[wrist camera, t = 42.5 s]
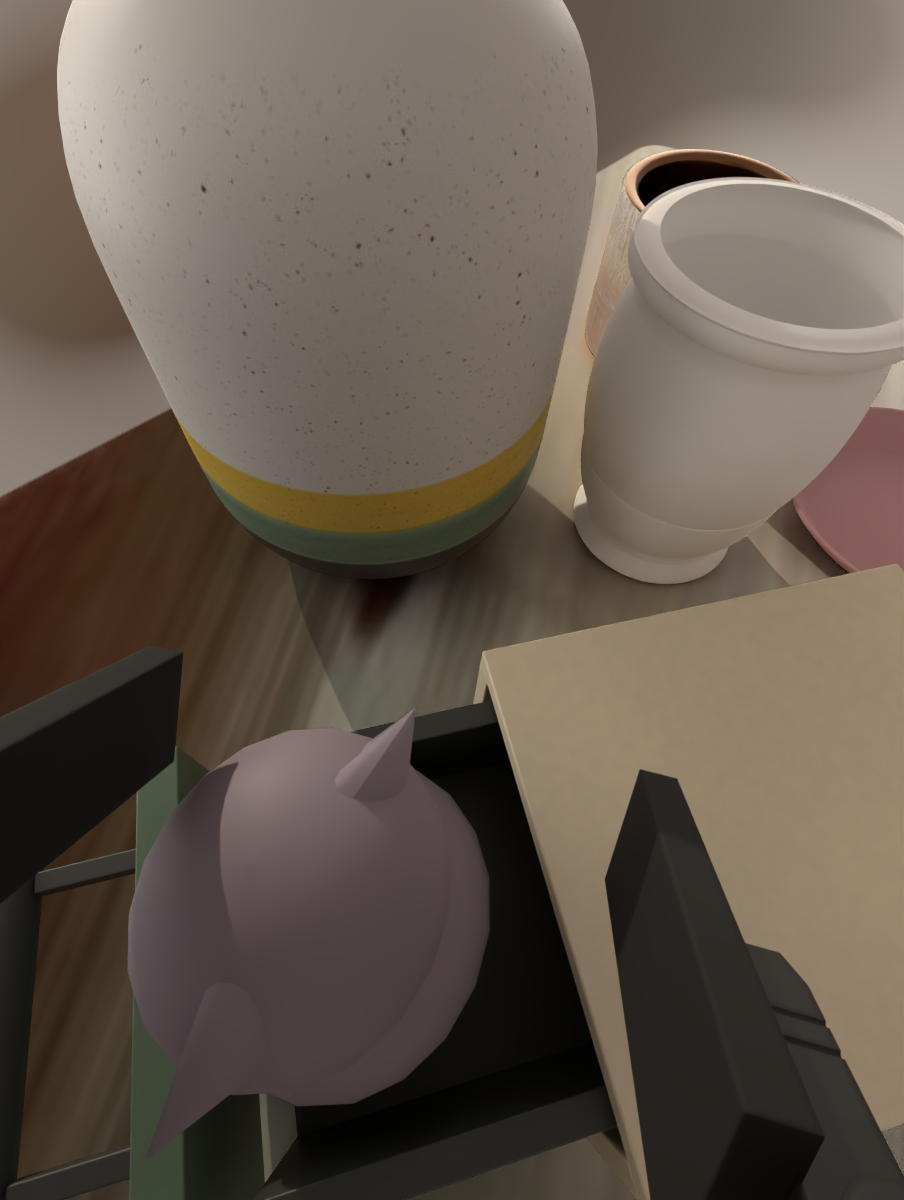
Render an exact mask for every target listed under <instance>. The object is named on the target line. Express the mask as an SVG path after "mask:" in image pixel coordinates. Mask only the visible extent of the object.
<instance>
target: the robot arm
mask: <svg viewBox="0 0 904 1200" xmlns="http://www.w3.org/2000/svg"><path fill="white" fill-rule="evenodd" d="M182 660H183V653H182V652H178V651H174V650H170V649H166V648H162V647H158V646H154V645H150V646H148V647H146V648H144V649H142V650H140V651H138V652H135V653H133V654H131V655H129V656H127V657H125V658H123V659H121V660H119V661H117V662H114V663H112V664H110V665H108V666H106V667H104V668H102V669H100V670H98V671H96V672H94V673H91V674H89V675H87V676H85V677H83V678H81V679H79V680H77V681H75V682H73V683H70V684H68V685H66V686H64V687H62V688H60V689H58V690H56V691H54V692H52V693H50V694H47V695H45V696H43V697H41V698H39V699H37V700H35V701H33V702H31V703H29V704H27V705H24V706H22V707H20V708H18V709H16V710H14V711H12V712H10V713H8V714H6V715H3V716H1V717H0V904H1V903H2V902H3V901H4V900H6V899H7V898H8V897H9V896H11V895H12V894H13V893H14V892H15V891H17V890H18V889H19V888H20V887H22V886H23V885H24V884H25V883H26V882H28V881H29V880H30V879H31V878H33V877H34V876H35V875H36V874H37V873H39V872H40V871H41V870H42V869H43V868H45V867H46V866H47V865H48V864H50V863H51V862H52V861H53V860H54V859H56V858H57V857H58V856H59V855H61V854H62V853H63V852H64V851H65V850H67V849H68V848H69V847H70V846H71V845H73V844H74V843H75V842H76V841H78V840H79V839H80V838H81V837H82V836H84V835H85V834H86V833H87V832H89V831H90V830H91V829H92V828H93V827H95V826H96V825H97V824H98V823H100V822H101V821H102V820H103V819H104V818H106V817H107V816H108V815H109V814H110V813H112V812H113V811H114V810H115V809H117V808H118V807H119V806H120V805H121V804H123V803H124V802H125V801H126V800H128V799H129V798H130V797H131V796H132V795H134V794H135V793H136V792H137V791H138V790H140V789H141V788H142V787H143V786H145V785H146V784H147V783H148V782H149V781H151V780H152V779H153V778H154V777H156V776H157V775H158V774H159V773H160V772H162V771H163V770H164V769H165V768H167V767H168V766H169V765H170V764H171V763H173V762H174V756H175V744H176V732H177V720H178V708H179V696H180V684H181V672H182ZM605 885H606V892H607V899H608V906H609V913H610V920H611V927H612V934H613V941H614V948H615V955H616V962H617V969H618V976H619V983H620V990H621V997H622V1004H623V1011H624V1018H625V1025H626V1032H627V1039H628V1046H629V1053H630V1061H631V1068H632V1075H633V1082H634V1089H635V1096H636V1103H637V1110H638V1117H639V1124H640V1131H641V1138H642V1145H643V1152H644V1159H645V1166H646V1173H647V1180H648V1187H649V1194H650V1200H904V1176H903V1174H902V1172H901V1170H900V1168H899V1166H898V1164H897V1162H896V1160H895V1158H894V1156H893V1154H892V1152H891V1150H890V1148H889V1146H888V1144H887V1142H886V1140H885V1138H884V1136H883V1134H882V1132H881V1130H880V1128H879V1126H878V1124H877V1122H876V1120H875V1118H874V1116H873V1114H872V1112H871V1110H870V1108H869V1106H868V1104H867V1102H866V1100H865V1098H864V1096H863V1094H862V1092H861V1090H860V1088H859V1086H858V1084H857V1082H856V1080H855V1078H854V1076H853V1074H852V1072H851V1070H850V1068H849V1066H848V1064H847V1062H846V1060H845V1059H842V1058H841V1050H840V1048H839V1046H838V1044H837V1042H836V1040H835V1038H834V1036H833V1034H832V1032H831V1030H830V1028H827V1027H826V1020H825V1018H824V1016H823V1014H822V1012H821V1010H820V1008H819V1006H818V1004H817V1002H816V1000H815V998H814V996H813V994H812V992H811V990H810V988H809V986H808V985H807V984H806V982H805V981H804V980H803V979H802V978H801V977H800V975H799V974H798V973H797V972H796V971H795V970H794V968H793V967H792V966H791V965H790V964H789V963H788V962H787V960H786V959H785V958H784V957H783V956H782V955H781V953H779V952H776V951H772V950H769V949H765V948H761V947H758V946H754V945H751V944H747V943H745V941H744V939H743V937H742V934H741V932H740V929H739V927H738V925H737V922H736V920H735V917H734V915H733V912H732V910H731V908H730V905H729V903H728V900H727V898H726V895H725V893H724V891H723V888H722V886H721V883H720V881H719V879H718V876H717V874H716V871H715V869H714V866H713V864H712V862H711V859H710V857H709V854H708V852H707V849H706V847H705V845H704V842H703V840H702V837H701V835H700V833H699V830H698V828H697V825H696V823H695V820H694V818H693V816H692V813H691V811H690V808H689V806H688V804H687V801H686V799H685V796H684V794H683V791H682V789H681V787H680V784H679V782H678V779H677V778H673V777H669V776H665V775H661V774H657V773H653V772H650V771H646V770H642V769H640V770H639V773H638V776H637V779H636V782H635V786H634V789H633V792H632V795H631V798H630V801H629V804H628V808H627V811H626V814H625V817H624V820H623V823H622V826H621V830H620V833H619V836H618V839H617V842H616V845H615V848H614V852H613V855H612V858H611V861H610V864H609V867H608V870H607V873H606V877H605Z"/></svg>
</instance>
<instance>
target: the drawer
mask: <svg viewBox="0 0 904 1200" xmlns="http://www.w3.org/2000/svg"><path fill="white" fill-rule="evenodd" d="M394 723H395V722H393V723H389V724H384V725H380V726H375V727H371V728H366V729H362V730H357V731H353V732H351V733H355V734H358V735H362V736H366V737H370V738H373V739H374V738H375V737H376V736H378V735H379V734H380V733H382V732H383V731H384V730H386V729H387V728H388V727H390V726H391V725H392V724H394ZM410 764H411V766H412V767H413V768H414V770H416V771H418V772H420V773H421V774H423V775H424V776H425V777H427V778H428V779H429V780H431V781H432V782H434V783H435V784H436V785H438V786H439V787H440V788H442V789H443V790H445V791H446V792H447V793H449V794H450V795H451V797H452V798H453V800H454V801H455V802H456V804H457V805H458V807H459V808H460V810H461V811H462V813H463V814H464V816H465V817H466V819H467V820H468V821H469V823H470V824H471V826H472V827H473V829H474V830H475V832H476V835H477V838H478V841H479V845H480V848H481V851H482V855H483V858H484V861H485V865H486V868H487V871H488V875H489V896H490V932H489V936H488V940H487V943H486V947H485V951H484V955H483V959H482V963H481V967H480V971H479V975H478V978H477V982H476V986H475V988H474V990H473V992H472V993H471V995H470V997H469V999H468V1000H467V1002H466V1004H465V1006H464V1008H463V1009H462V1011H461V1013H460V1015H459V1016H458V1018H457V1020H456V1022H455V1024H454V1025H453V1027H452V1029H451V1031H450V1032H449V1034H448V1036H447V1038H446V1039H445V1040H444V1041H443V1042H442V1043H441V1044H440V1045H439V1046H438V1047H437V1048H436V1049H435V1050H434V1051H433V1052H432V1053H431V1054H430V1055H429V1056H428V1057H427V1058H426V1059H425V1060H424V1061H423V1062H422V1063H421V1064H419V1065H418V1066H417V1067H416V1068H415V1069H414V1070H413V1071H412V1072H411V1073H410V1074H409V1075H408V1076H407V1077H406V1078H405V1079H404V1080H402V1081H400V1082H398V1083H396V1084H394V1085H392V1086H390V1087H388V1088H386V1089H384V1090H381V1091H379V1092H377V1093H375V1094H373V1095H371V1096H369V1097H367V1098H365V1099H363V1100H360V1101H358V1102H356V1103H354V1104H337V1105H315V1106H295V1112H296V1124H297V1135H298V1137H297V1138H296V1140H295V1141H294V1143H293V1144H292V1145H291V1147H290V1148H289V1150H288V1151H287V1153H286V1154H285V1155H284V1157H283V1158H282V1160H281V1161H280V1163H279V1164H278V1165H277V1167H276V1168H275V1170H274V1171H273V1173H272V1174H271V1176H270V1177H269V1178H268V1180H267V1181H266V1183H265V1181H264V1165H263V1150H262V1134H261V1119H260V1104H259V1094H246V1095H231V1094H230V1095H229V1096H227V1097H226V1098H225V1099H224V1100H222V1101H221V1102H220V1103H219V1104H217V1105H216V1106H215V1107H213V1108H212V1109H211V1110H210V1111H208V1112H207V1113H206V1114H205V1115H203V1116H202V1117H201V1118H199V1119H198V1120H197V1121H196V1122H194V1123H193V1124H192V1125H191V1126H189V1127H188V1128H187V1129H185V1130H184V1131H183V1132H182V1133H180V1134H179V1135H178V1136H176V1137H175V1138H174V1139H173V1140H171V1141H170V1142H169V1143H168V1144H166V1145H165V1146H164V1147H162V1148H161V1149H160V1150H159V1151H157V1152H156V1153H155V1154H154V1155H152V1156H151V1157H150V1158H148V1159H147V1160H146V1161H145V1159H146V1156H147V1153H148V1150H149V1148H150V1145H151V1142H152V1139H153V1136H154V1133H155V1131H156V1128H157V1125H158V1122H159V1119H160V1117H161V1114H162V1111H163V1108H164V1105H165V1103H166V1100H167V1097H168V1094H169V1091H170V1088H171V1086H172V1083H173V1080H174V1077H175V1074H176V1072H177V1069H178V1068H177V1067H176V1066H175V1064H174V1063H173V1062H172V1061H171V1060H170V1058H169V1057H168V1056H167V1055H166V1054H165V1052H164V1051H163V1050H162V1049H161V1048H160V1046H159V1045H158V1044H157V1043H156V1041H155V1040H154V1039H153V1038H152V1037H151V1035H150V1034H149V1033H148V1032H147V1031H146V1029H145V1028H144V1025H143V1021H142V1018H141V1015H140V1011H139V1008H138V1005H137V1002H136V998H135V995H134V992H133V1028H132V1081H131V1134H130V1144H128V1145H125V1146H121V1147H118V1148H115V1149H112V1150H108V1151H105V1152H102V1153H99V1154H96V1155H92V1156H89V1157H86V1158H83V1159H80V1160H76V1161H73V1162H70V1163H67V1164H63V1165H60V1166H57V1167H54V1168H51V1169H47V1170H44V1171H41V1172H38V1173H34V1174H31V1175H28V1176H25V1177H22V1178H19V1179H18V1180H17V1172H18V1161H19V1150H20V1138H21V1127H22V1116H23V1105H24V1094H25V1082H26V1071H27V1060H28V1049H29V1037H30V1026H31V1015H32V1004H33V993H34V981H35V970H36V959H37V948H38V936H39V925H40V914H41V903H42V895H49V894H53V893H57V892H61V891H65V890H69V889H73V888H77V887H81V886H85V885H89V884H93V883H97V882H102V881H106V880H110V879H114V878H118V877H122V876H126V875H130V874H134V873H135V891H136V888H137V884H138V881H139V877H140V874H141V870H142V867H143V864H144V860H145V859H146V857H147V855H148V853H149V851H150V850H151V848H152V846H153V844H154V843H155V841H156V839H157V837H158V835H159V834H160V832H161V830H162V828H163V827H164V825H165V823H166V821H167V819H168V818H169V816H170V814H171V813H172V812H173V810H174V809H175V808H176V807H177V806H178V805H179V804H180V803H181V801H182V800H183V799H184V798H185V797H186V796H187V795H188V794H189V793H190V791H191V790H192V789H193V788H194V787H195V786H196V785H197V784H198V782H199V781H200V780H201V779H202V778H203V777H204V776H205V775H206V774H207V773H209V772H210V771H208V770H207V769H206V768H205V767H203V766H202V765H201V764H199V763H198V762H197V761H196V760H194V759H193V758H192V757H191V756H189V755H188V754H187V753H186V752H184V751H183V750H182V749H180V748H179V747H178V746H176V747H175V756H174V762H173V763H171V764H170V765H169V766H168V767H167V768H165V769H164V770H163V771H162V772H160V773H159V774H158V775H157V776H156V777H154V778H153V779H152V780H151V781H149V782H148V783H147V784H146V785H145V786H143V787H142V788H141V789H140V790H138V791H137V816H136V849H132V850H128V851H124V852H120V853H116V854H111V855H107V856H103V857H99V858H95V859H91V860H87V861H82V862H78V863H74V864H70V865H66V866H62V867H58V868H53V869H49V870H45V871H44V870H43V869H42V870H41V871H40V872H39V873H37V874H36V875H35V876H34V877H33V878H31V879H30V880H29V881H28V882H26V883H25V884H24V885H23V886H22V887H20V888H19V889H18V890H17V891H15V892H14V893H13V894H12V895H11V896H9V897H8V898H7V899H6V900H4V901H3V902H2V903H1V904H0V1200H64V1199H67V1198H71V1197H74V1196H77V1195H80V1194H83V1193H86V1192H89V1191H92V1190H96V1189H99V1188H102V1187H105V1186H108V1185H111V1184H114V1183H118V1182H121V1181H124V1180H127V1179H130V1187H129V1200H407V1199H409V1198H412V1197H415V1196H418V1195H421V1194H424V1193H427V1192H430V1191H433V1190H435V1189H438V1188H441V1187H444V1186H447V1185H450V1184H453V1183H456V1182H458V1181H461V1180H464V1179H467V1178H470V1177H473V1176H476V1175H479V1174H482V1173H484V1172H487V1171H490V1170H493V1169H496V1168H499V1167H502V1166H505V1165H508V1164H510V1163H513V1162H516V1161H519V1160H522V1159H525V1158H528V1157H531V1156H533V1155H536V1154H539V1153H542V1152H545V1151H548V1150H551V1149H554V1148H557V1147H559V1146H562V1145H565V1144H568V1143H571V1142H574V1141H577V1140H580V1139H582V1138H585V1137H588V1136H591V1135H594V1134H597V1133H600V1132H603V1131H606V1130H608V1129H611V1128H614V1127H617V1122H616V1119H615V1116H614V1112H613V1109H612V1105H611V1102H610V1099H609V1095H608V1092H607V1088H606V1085H605V1082H604V1078H603V1075H602V1071H601V1068H600V1065H599V1061H598V1058H597V1054H596V1051H595V1048H594V1044H593V1041H592V1037H591V1034H590V1031H589V1027H588V1024H587V1020H586V1017H585V1014H584V1010H583V1007H582V1003H581V1000H580V997H579V993H578V990H577V987H576V983H575V980H574V976H573V973H572V970H571V966H570V963H569V959H568V956H567V953H566V949H565V946H564V942H563V939H562V936H561V932H560V929H559V925H558V922H557V919H556V915H555V912H554V908H553V905H552V902H551V898H550V895H549V891H548V888H547V885H546V881H545V878H544V875H543V871H542V868H541V864H540V861H539V858H538V854H537V851H536V847H535V844H534V841H533V837H532V834H531V830H530V827H529V824H528V820H527V817H526V813H525V810H524V807H523V803H522V800H521V796H520V793H519V790H518V786H517V783H516V779H515V776H514V773H513V769H512V766H511V763H510V759H509V756H508V752H507V749H506V746H505V742H504V739H503V735H502V732H501V729H500V725H499V722H498V718H497V715H496V712H495V708H494V705H493V701H492V700H491V701H486V702H482V703H477V704H473V705H468V706H464V707H460V708H455V709H451V710H446V711H442V712H437V713H433V714H428V715H424V716H420V717H415V721H414V730H413V739H412V748H411V757H410Z"/></svg>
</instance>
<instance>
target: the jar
mask: <svg viewBox="0 0 904 1200" xmlns="http://www.w3.org/2000/svg"><path fill="white" fill-rule="evenodd" d="M628 264H629V269H630V272H631V276H632V277H631V279H630V280H629V282H628V283H627V285H626V287H625V289H624V290H623V292H622V294H621V296H620V298H619V300H618V302H617V304H616V306H615V308H614V310H613V312H612V315H611V317H610V319H609V322H608V324H607V326H606V329H605V331H604V334H603V337H602V339H601V342H600V345H599V348H598V351H597V354H596V357H595V360H594V364H593V368H592V372H591V376H590V380H589V385H588V391H587V397H586V405H585V417H584V435H583V441H582V450H581V475H582V482H583V484H582V485H581V487H580V489H579V490H578V493H577V495H576V498H575V502H574V521H575V525H576V528H577V531H578V533H579V535H580V537H581V539H582V540H583V542H584V543H585V545H586V546H587V547H588V549H589V550H590V551H591V552H592V553H593V554H594V555H595V556H596V557H597V558H598V559H599V560H601V561H602V562H603V563H604V564H606V565H607V566H609V567H610V568H612V569H614V570H615V571H617V572H619V573H621V574H623V575H626V576H628V577H631V578H633V579H637V580H640V581H644V582H649V583H657V584H676V583H684V582H688V581H692V580H695V579H697V578H700V577H702V576H704V575H706V574H707V573H709V572H710V571H712V570H713V569H714V568H715V567H716V566H717V565H718V564H719V563H720V562H721V561H722V559H723V558H724V556H725V555H726V553H727V550H728V548H729V546H731V545H733V544H734V543H736V542H738V541H740V540H741V539H743V538H745V537H746V536H747V535H749V534H750V533H752V532H753V531H754V530H756V529H757V528H758V527H759V526H761V525H762V524H763V523H764V522H765V521H766V520H768V519H769V518H770V517H771V516H772V515H773V514H774V513H775V512H776V511H777V510H778V509H779V508H780V507H782V506H783V505H785V504H786V503H787V502H789V501H790V500H791V499H792V498H794V497H795V496H796V495H797V494H798V493H800V492H801V491H802V490H803V489H804V488H805V487H806V486H807V485H809V484H810V483H811V482H812V481H813V480H814V479H815V478H816V477H817V476H818V475H819V474H820V473H821V472H822V471H823V470H824V469H825V467H826V466H827V465H828V464H829V463H830V462H831V461H832V460H833V458H834V457H835V456H836V455H837V454H838V453H839V451H840V450H841V449H842V448H843V446H844V445H845V444H846V442H847V441H848V440H849V438H850V437H851V436H852V434H853V433H854V431H855V430H856V428H857V427H858V425H859V424H860V422H861V421H862V419H863V418H864V416H865V415H866V413H867V412H868V410H869V408H870V407H871V405H872V403H873V402H874V400H875V398H876V396H877V395H878V393H879V391H880V389H881V387H882V385H883V383H884V381H885V379H886V377H887V375H888V372H889V370H890V368H891V365H893V364H895V363H897V362H900V361H902V360H904V224H902V223H900V222H899V221H897V220H896V219H894V218H892V217H891V216H888V215H887V214H885V213H883V212H881V211H879V210H877V209H875V208H873V207H871V206H869V205H867V204H864V203H862V202H860V201H857V200H855V199H852V198H849V197H847V196H844V195H841V194H838V193H835V192H832V191H828V190H824V189H821V188H818V187H813V186H809V185H805V184H800V183H795V182H790V181H783V180H776V179H767V178H753V177H727V178H715V179H707V180H701V181H696V182H692V183H688V184H684V185H681V186H678V187H675V188H673V189H671V190H668V191H666V192H664V193H663V194H661V195H659V196H658V197H656V198H655V199H653V200H652V201H651V202H650V203H649V204H648V205H647V206H646V207H645V208H644V209H643V211H642V212H641V214H640V215H639V217H638V220H637V222H636V225H635V227H634V229H633V232H632V234H631V237H630V241H629V247H628Z"/></svg>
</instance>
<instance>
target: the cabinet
mask: <svg viewBox="0 0 904 1200" xmlns="http://www.w3.org/2000/svg"><path fill="white" fill-rule="evenodd" d="M491 700H492V701H493V705H494V708H495V712H496V715H497V718H498V722H499V725H500V729H501V732H502V735H503V739H504V742H505V746H506V749H507V752H508V756H509V759H510V763H511V766H512V769H513V773H514V776H515V779H516V783H517V786H518V790H519V793H520V796H521V800H522V803H523V807H524V810H525V813H526V817H527V820H528V824H529V827H530V830H531V834H532V837H533V841H534V844H535V847H536V851H537V854H538V858H539V861H540V864H541V868H542V871H543V875H544V878H545V881H546V885H547V888H548V891H549V895H550V898H551V902H552V905H553V908H554V912H555V915H556V919H557V922H558V925H559V929H560V932H561V936H562V939H563V942H564V946H565V949H566V953H567V956H568V959H569V963H570V966H571V970H572V973H573V976H574V980H575V983H576V987H577V990H578V993H579V997H580V1000H581V1003H582V1007H583V1010H584V1014H585V1017H586V1020H587V1024H588V1027H589V1031H590V1034H591V1037H592V1041H593V1044H594V1048H595V1051H596V1054H597V1058H598V1061H599V1065H600V1068H601V1071H602V1075H603V1078H604V1082H605V1085H606V1088H607V1092H608V1095H609V1099H610V1102H611V1105H612V1109H613V1112H614V1116H615V1119H616V1122H617V1127H614V1128H611V1129H608V1130H606V1131H603V1132H600V1133H597V1134H594V1135H591V1136H588V1137H586V1138H587V1139H588V1140H589V1141H590V1143H591V1144H592V1145H593V1146H594V1147H595V1149H596V1150H597V1151H598V1152H599V1154H600V1155H601V1156H602V1157H603V1159H604V1160H605V1161H606V1162H607V1163H608V1165H609V1166H610V1167H611V1168H612V1170H613V1171H614V1172H615V1173H616V1174H617V1176H618V1177H619V1178H620V1179H621V1181H622V1182H623V1183H624V1184H625V1186H626V1187H627V1188H628V1189H629V1190H630V1192H631V1193H632V1194H633V1195H634V1197H635V1198H636V1199H637V1200H650V1194H649V1187H648V1180H647V1173H646V1166H645V1159H644V1152H643V1145H642V1138H641V1131H640V1124H639V1117H638V1110H637V1103H636V1096H635V1089H634V1082H633V1075H632V1068H631V1061H630V1053H629V1046H628V1039H627V1032H626V1025H625V1018H624V1011H623V1004H622V997H621V990H620V983H619V976H618V969H617V962H616V955H615V948H614V941H613V934H612V927H611V920H610V913H609V906H608V899H607V892H606V885H605V877H606V873H607V870H608V867H609V864H610V861H611V858H612V855H613V852H614V848H615V845H616V842H617V839H618V836H619V833H620V830H621V826H622V823H623V820H624V817H625V814H626V811H627V808H628V804H629V801H630V798H631V795H632V792H633V789H634V786H635V782H636V779H637V776H638V773H639V770H640V769H642V770H646V771H650V772H653V773H657V774H661V775H665V776H669V777H673V778H677V779H678V782H679V784H680V787H681V789H682V791H683V794H684V796H685V799H686V801H687V804H688V806H689V808H690V811H691V813H692V816H693V818H694V820H695V823H696V825H697V828H698V830H699V833H700V835H701V837H702V840H703V842H704V845H705V847H706V849H707V852H708V854H709V857H710V859H711V862H712V864H713V866H714V869H715V871H716V874H717V876H718V879H719V881H720V883H721V886H722V888H723V891H724V893H725V895H726V898H727V900H728V903H729V905H730V908H731V910H732V912H733V915H734V917H735V920H736V922H737V925H738V927H739V929H740V932H741V934H742V937H743V939H744V941H745V943H747V944H751V945H754V946H758V947H761V948H765V949H769V950H772V951H776V952H779V953H781V955H782V956H783V957H784V958H785V959H786V960H787V962H788V963H789V964H790V965H791V966H792V967H793V968H794V970H795V971H796V972H797V973H798V974H799V975H800V977H801V978H802V979H803V980H804V981H805V982H806V984H807V985H808V986H809V988H810V990H811V992H812V994H813V996H814V998H815V1000H816V1002H817V1004H818V1006H819V1008H820V1010H821V1012H822V1014H823V1016H824V1018H825V1020H826V1027H827V1028H830V1030H831V1032H832V1034H833V1036H834V1038H835V1040H836V1042H837V1044H838V1046H839V1048H840V1050H841V1058H842V1059H845V1060H846V1062H847V1064H848V1066H849V1068H850V1070H851V1072H852V1074H853V1076H854V1078H855V1080H856V1082H857V1084H858V1086H859V1088H860V1090H861V1092H862V1094H863V1096H864V1098H865V1100H866V1102H867V1104H868V1106H869V1108H870V1110H871V1112H872V1114H873V1116H874V1118H875V1120H876V1122H877V1124H878V1126H879V1128H880V1130H881V1132H883V1131H886V1130H889V1129H891V1128H894V1127H897V1126H899V1125H902V1124H904V572H903V570H902V569H901V568H900V566H899V565H898V564H892V565H888V566H883V567H878V568H873V569H869V570H864V571H859V572H854V573H850V574H845V575H840V576H836V577H831V578H826V579H821V580H817V581H812V582H807V583H803V584H798V585H793V586H788V587H784V588H779V589H774V590H770V591H765V592H760V593H755V594H751V595H746V596H741V597H736V598H732V599H727V600H722V601H718V602H713V603H708V604H703V605H699V606H694V607H689V608H685V609H680V610H675V611H670V612H666V613H661V614H656V615H652V616H647V617H642V618H637V619H633V620H628V621H623V622H618V623H614V624H609V625H604V626H600V627H595V628H590V629H585V630H581V631H576V632H571V633H567V634H562V635H557V636H552V637H548V638H543V639H538V640H534V641H529V642H524V643H519V644H515V645H510V646H505V647H500V648H496V649H491V650H486V651H483V652H482V658H481V662H480V668H479V674H478V679H477V685H476V691H475V696H474V702H473V704H477V703H482V702H486V701H491Z"/></svg>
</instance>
